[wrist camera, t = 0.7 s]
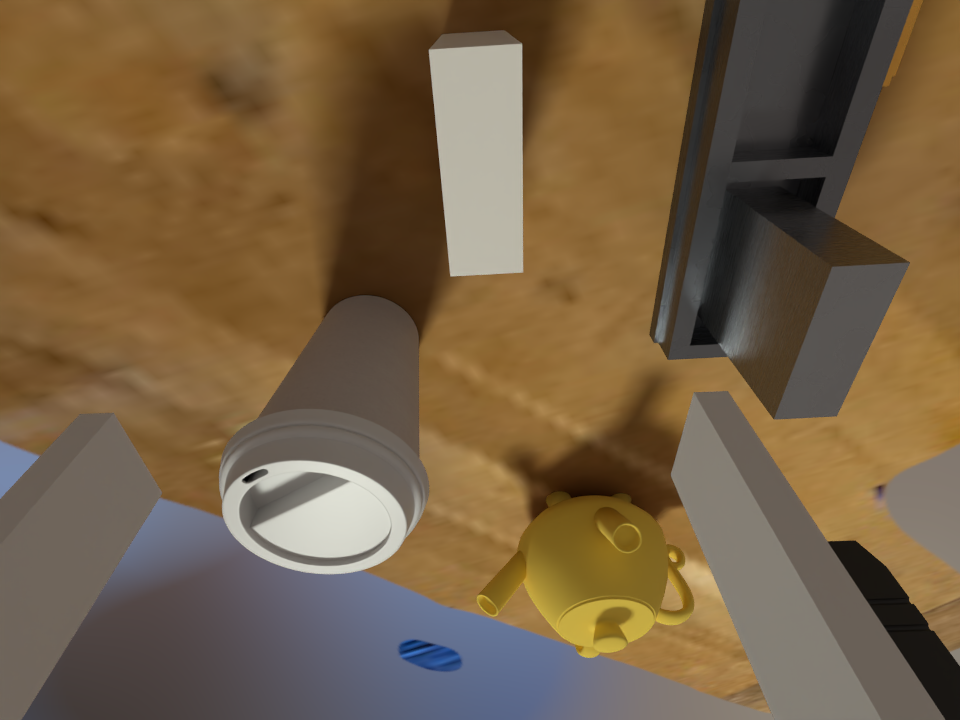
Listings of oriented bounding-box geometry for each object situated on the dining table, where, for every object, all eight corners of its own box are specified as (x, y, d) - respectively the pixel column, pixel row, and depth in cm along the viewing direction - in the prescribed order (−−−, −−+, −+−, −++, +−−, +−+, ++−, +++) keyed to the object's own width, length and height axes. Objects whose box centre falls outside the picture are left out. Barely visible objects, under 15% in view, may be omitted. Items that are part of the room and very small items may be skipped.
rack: (813, -641, 15) (1346, -1636, 6) (1168, -671, 15) (2284, -1748, 6) (649, 334, 34) (713, 451, 25) (799, 326, 34) (916, 441, 25)
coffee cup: (423, 261, 31) (393, 429, 19) (453, 381, 37) (445, 572, 24) (276, 286, 32) (155, 462, 20) (327, 400, 37) (258, 593, 25)
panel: (442, 34, 24) (428, 49, 16) (504, 30, 24) (521, 43, 16) (455, 199, 29) (450, 276, 21) (507, 196, 29) (522, 272, 21)
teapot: (605, 438, 40) (644, 565, 31) (686, 518, 46) (739, 644, 37) (470, 515, 46) (470, 643, 36) (559, 577, 52) (578, 701, 42)
